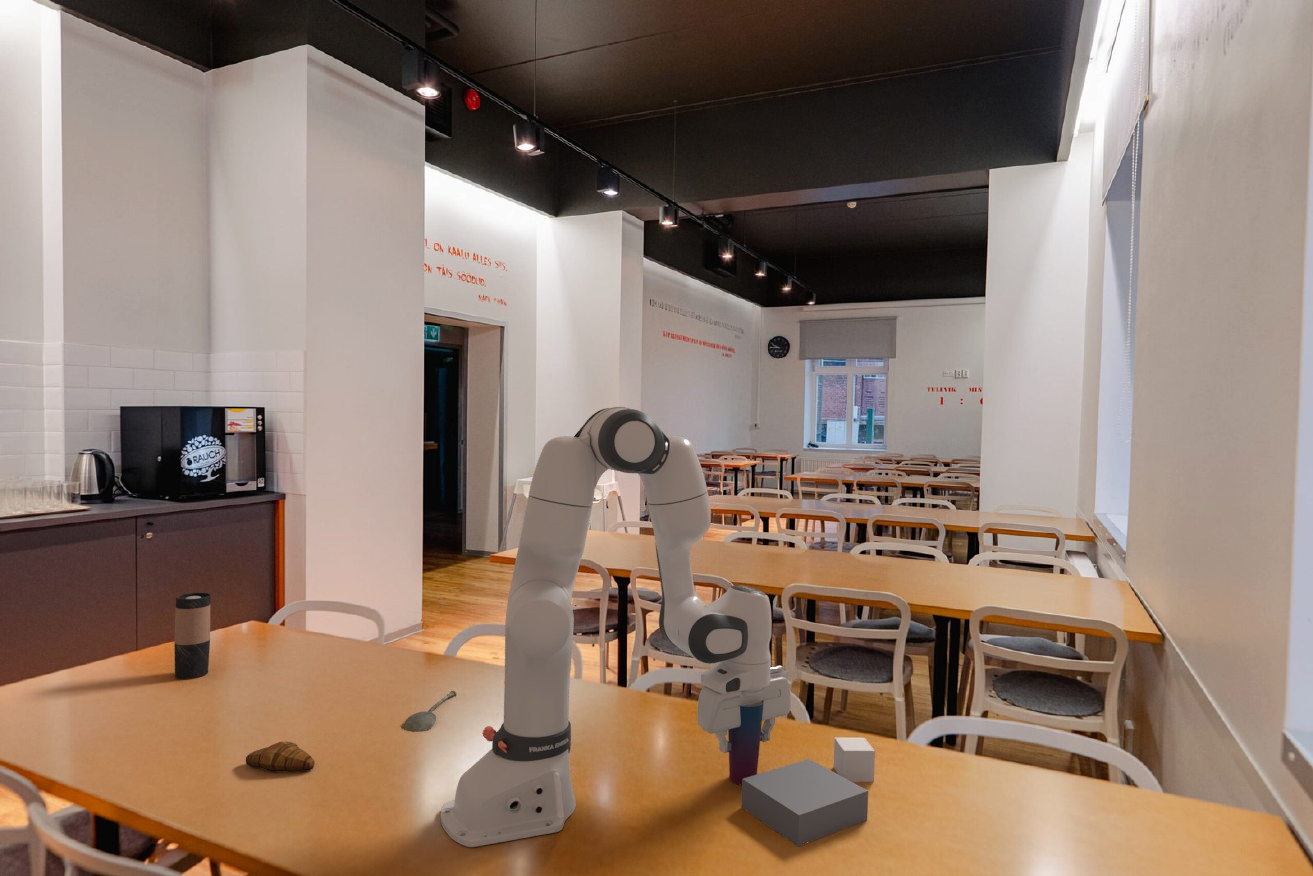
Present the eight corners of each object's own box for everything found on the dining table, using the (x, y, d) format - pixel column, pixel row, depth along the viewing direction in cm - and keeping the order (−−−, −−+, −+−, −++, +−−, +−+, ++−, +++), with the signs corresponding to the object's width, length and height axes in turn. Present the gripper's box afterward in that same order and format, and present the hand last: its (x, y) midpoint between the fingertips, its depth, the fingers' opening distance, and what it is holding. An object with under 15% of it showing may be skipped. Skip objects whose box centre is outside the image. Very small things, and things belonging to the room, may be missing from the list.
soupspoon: (397, 736, 157) (426, 740, 156) (398, 720, 156) (427, 724, 156) (440, 695, 178) (466, 699, 178) (441, 682, 178) (467, 685, 177)
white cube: (863, 768, 146) (864, 737, 146) (874, 782, 140) (875, 750, 140) (833, 767, 145) (834, 737, 145) (842, 782, 139) (843, 750, 139)
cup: (760, 790, 135) (762, 708, 135) (722, 785, 136) (725, 704, 136) (762, 773, 142) (764, 695, 142) (726, 769, 143) (729, 691, 143)
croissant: (324, 763, 141) (324, 737, 141) (302, 780, 134) (302, 752, 134) (259, 757, 143) (260, 731, 143) (234, 772, 136) (235, 745, 136)
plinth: (798, 846, 117) (799, 815, 117) (741, 807, 129) (742, 779, 129) (867, 820, 126) (868, 790, 126) (808, 785, 137) (809, 758, 137)
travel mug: (215, 673, 188) (217, 595, 188) (183, 682, 182) (184, 600, 182) (199, 668, 192) (201, 591, 192) (167, 675, 186) (169, 596, 186)
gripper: (776, 659, 147) (775, 728, 147) (693, 676, 136) (691, 751, 136) (799, 668, 142) (797, 740, 142) (714, 686, 131) (712, 764, 131)
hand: (744, 745), depth 139 cm, fingers open, 8 cm apart
